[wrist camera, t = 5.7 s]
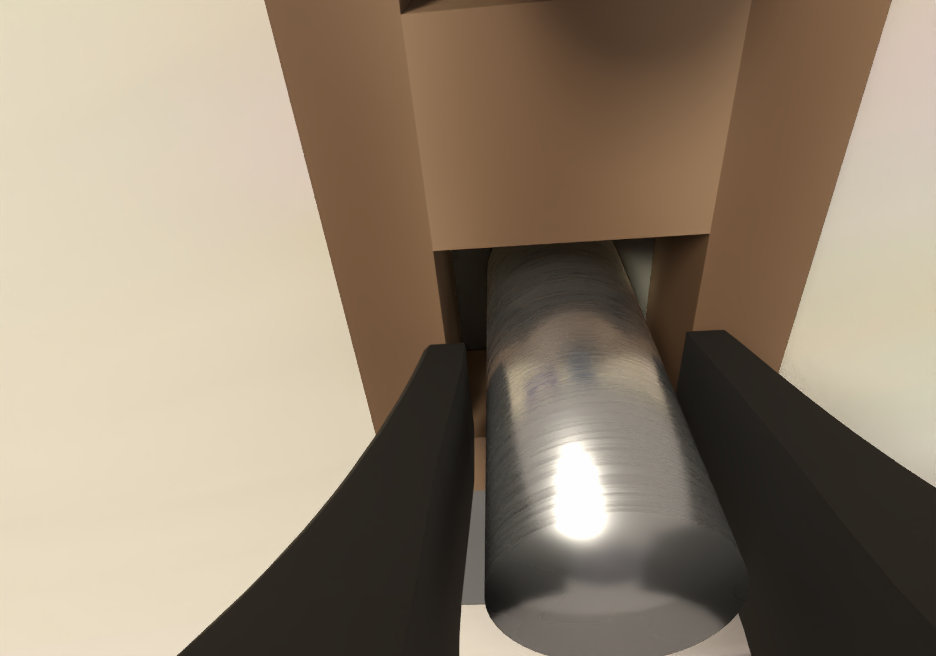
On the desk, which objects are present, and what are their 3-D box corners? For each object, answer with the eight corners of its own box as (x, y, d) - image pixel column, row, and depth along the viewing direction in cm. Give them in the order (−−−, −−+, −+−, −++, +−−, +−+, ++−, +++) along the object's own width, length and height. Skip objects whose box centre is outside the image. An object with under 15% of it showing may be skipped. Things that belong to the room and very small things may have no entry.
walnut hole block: (949, -777, 6) (1277, -1268, 3) (704, 390, 15) (745, 482, 13) (193, -639, 6) (15, -975, 4) (405, 403, 16) (390, 493, 13)
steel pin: (622, 204, 12) (775, 511, 6) (614, 320, 14) (725, 661, 7) (483, 213, 13) (474, 518, 6) (491, 327, 14) (492, 664, 8)
